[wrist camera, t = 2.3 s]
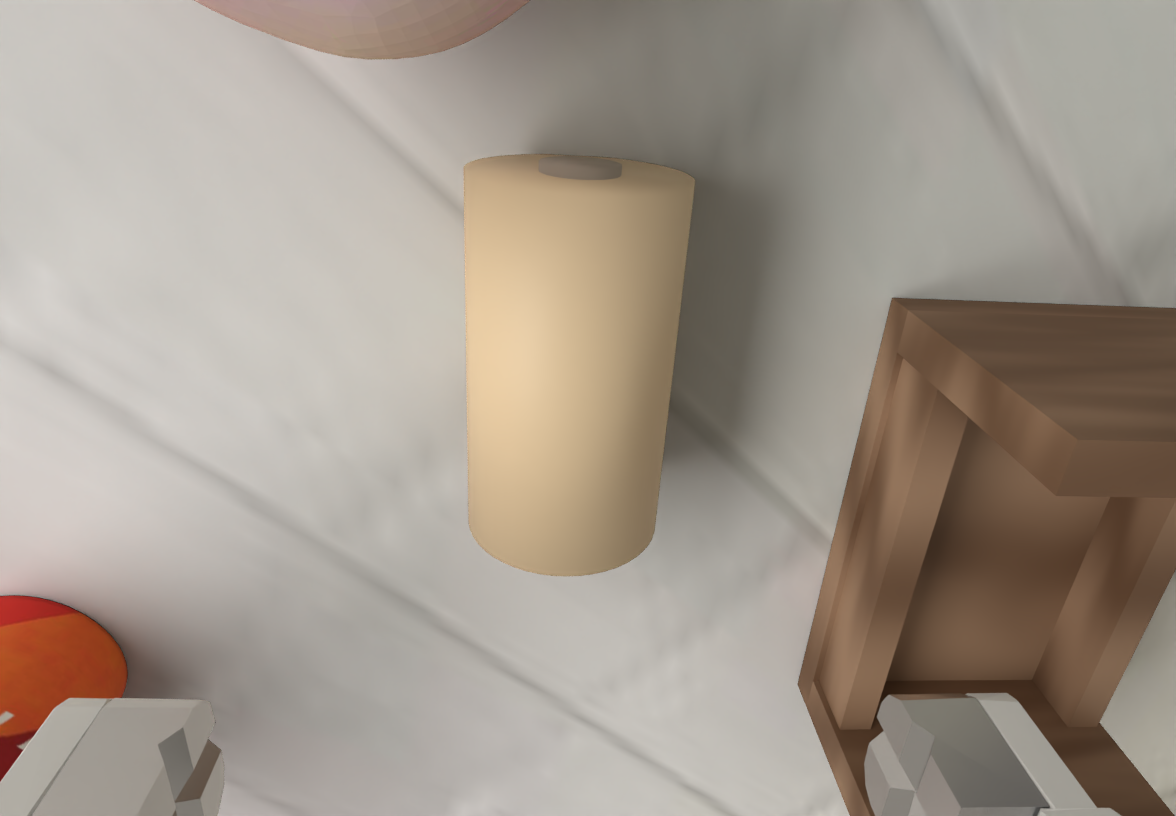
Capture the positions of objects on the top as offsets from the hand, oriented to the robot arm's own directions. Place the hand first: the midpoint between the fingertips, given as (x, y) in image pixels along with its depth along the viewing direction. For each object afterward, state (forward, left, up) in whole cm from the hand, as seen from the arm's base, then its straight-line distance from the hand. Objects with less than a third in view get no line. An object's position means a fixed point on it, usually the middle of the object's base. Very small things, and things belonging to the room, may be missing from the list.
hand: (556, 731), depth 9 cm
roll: (0, 0, -13) cm, 13 cm away
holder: (+6, +14, -13) cm, 20 cm away
